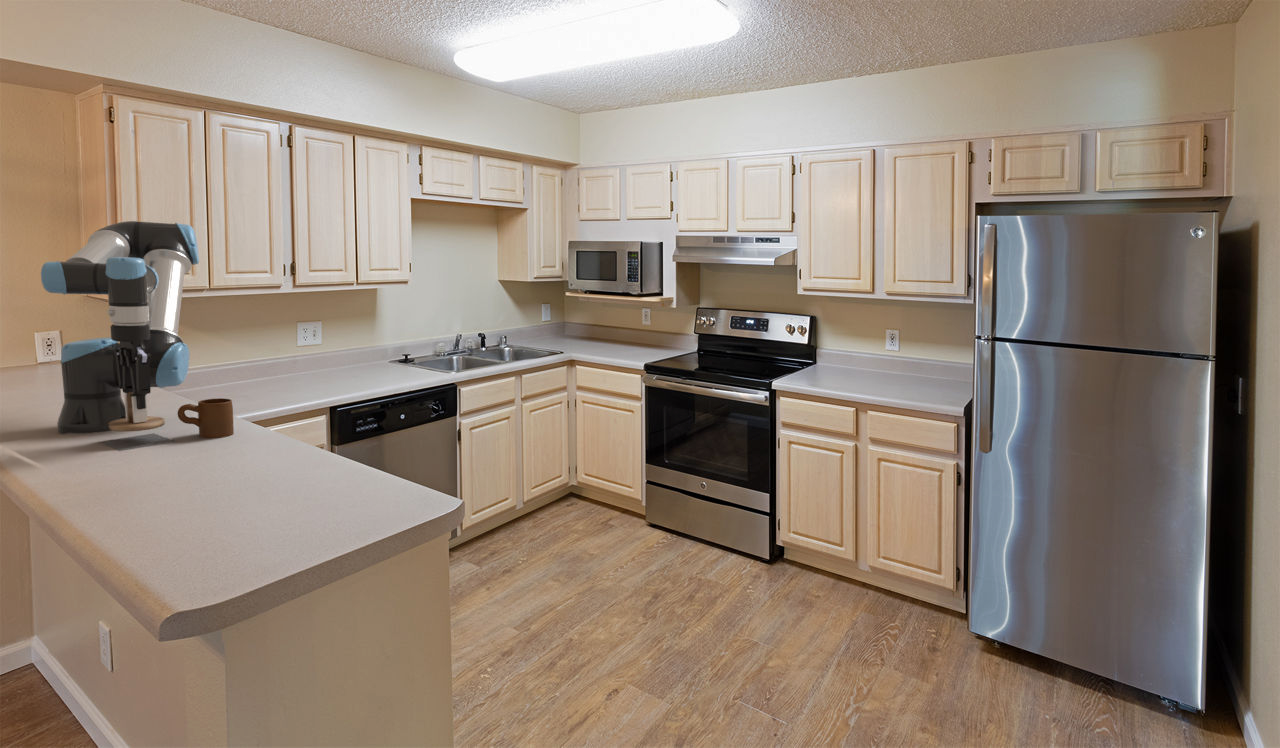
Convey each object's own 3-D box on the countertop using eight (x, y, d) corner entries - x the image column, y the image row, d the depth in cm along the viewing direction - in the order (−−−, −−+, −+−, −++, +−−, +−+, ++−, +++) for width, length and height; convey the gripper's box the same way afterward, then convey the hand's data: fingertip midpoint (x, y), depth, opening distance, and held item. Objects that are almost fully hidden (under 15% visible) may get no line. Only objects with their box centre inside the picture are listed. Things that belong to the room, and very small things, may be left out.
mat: (97, 444, 169) (97, 441, 169) (153, 435, 179) (153, 433, 179) (120, 453, 163) (119, 450, 162) (176, 443, 173) (176, 441, 172)
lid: (100, 425, 169) (98, 392, 168) (152, 418, 178) (150, 386, 177) (121, 433, 163) (118, 400, 162) (173, 425, 172) (171, 393, 171)
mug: (181, 444, 172) (179, 406, 171) (176, 438, 178) (174, 401, 176) (237, 438, 180) (235, 402, 179) (230, 432, 186) (228, 397, 184)
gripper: (96, 321, 168) (104, 417, 172) (127, 328, 159) (134, 429, 163) (132, 319, 174) (139, 412, 178) (164, 326, 165) (170, 423, 169)
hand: (136, 420), depth 170 cm, fingers closed on lid, 3 cm apart
